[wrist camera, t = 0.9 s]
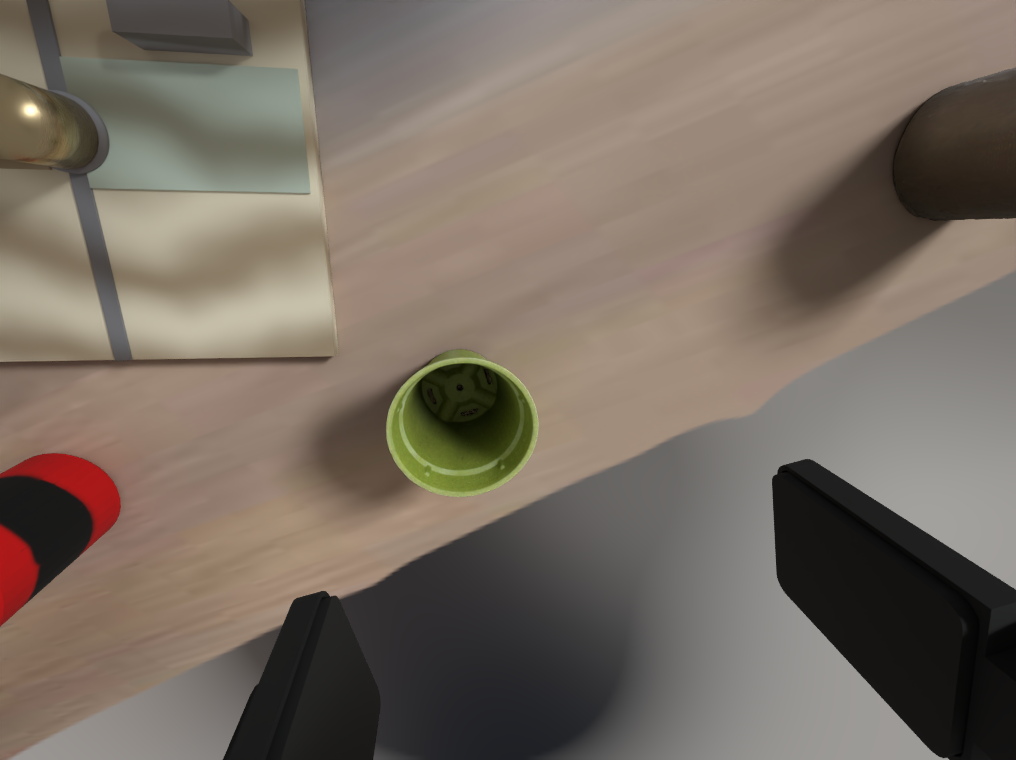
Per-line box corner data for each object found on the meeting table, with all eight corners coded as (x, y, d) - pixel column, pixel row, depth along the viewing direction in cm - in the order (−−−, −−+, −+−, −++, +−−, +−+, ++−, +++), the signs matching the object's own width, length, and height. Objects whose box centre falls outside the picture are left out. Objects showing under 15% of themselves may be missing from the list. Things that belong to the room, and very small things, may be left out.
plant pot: (534, 415, 39) (557, 465, 31) (428, 457, 39) (422, 518, 31) (494, 310, 36) (508, 334, 28) (379, 355, 36) (358, 392, 28)
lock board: (-296, -184, 24) (-437, -262, 20) (292, -126, 27) (266, -184, 23) (-89, 358, 32) (-160, 376, 28) (338, 352, 35) (325, 366, 32)
